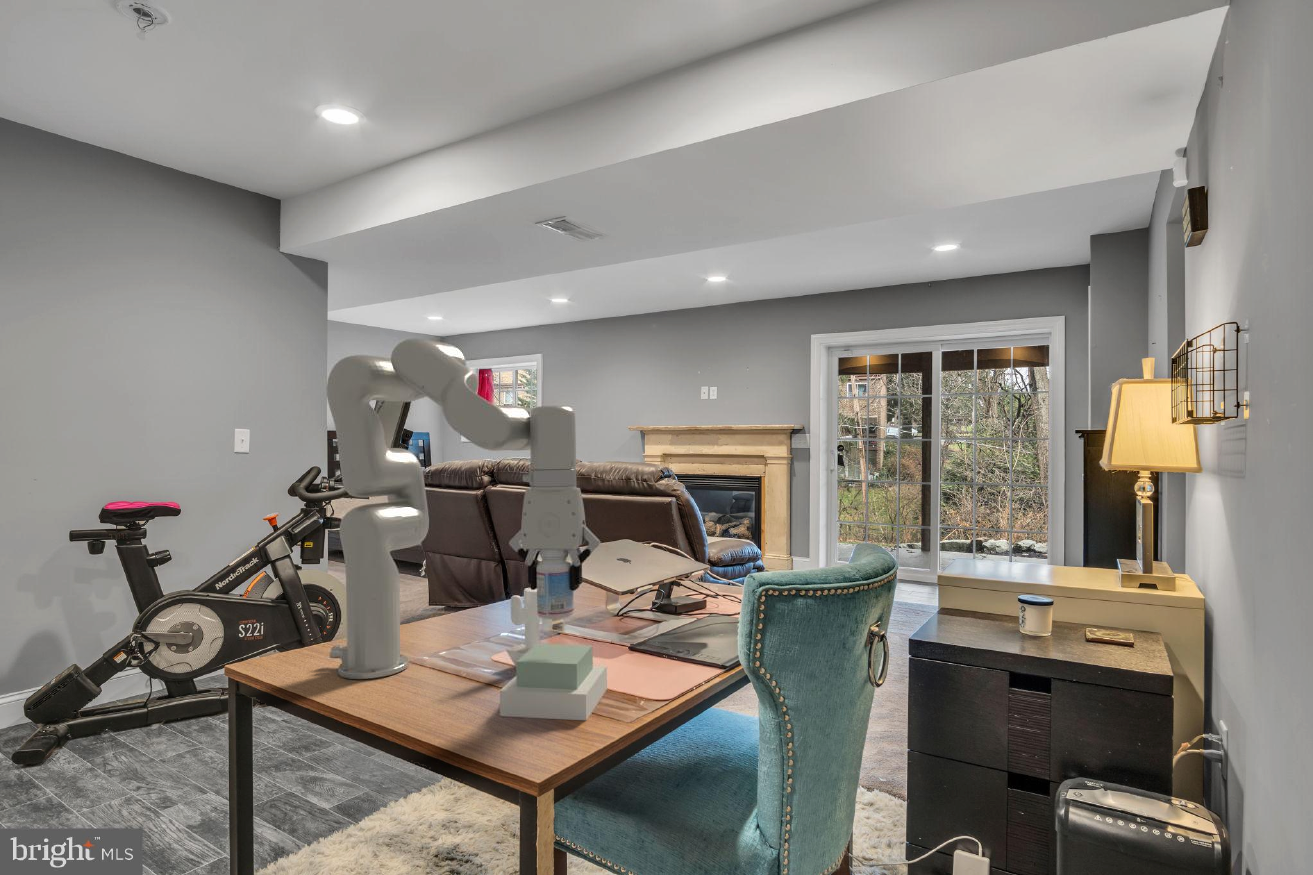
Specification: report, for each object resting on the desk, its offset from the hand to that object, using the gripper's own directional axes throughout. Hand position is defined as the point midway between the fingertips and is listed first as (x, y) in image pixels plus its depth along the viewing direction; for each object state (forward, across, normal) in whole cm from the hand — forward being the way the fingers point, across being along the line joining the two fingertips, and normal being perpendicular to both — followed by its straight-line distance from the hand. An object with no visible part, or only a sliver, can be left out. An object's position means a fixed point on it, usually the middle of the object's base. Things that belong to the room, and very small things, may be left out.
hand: (555, 587), depth 116 cm
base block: (+19, 0, 0) cm, 19 cm away
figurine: (+19, -10, +17) cm, 27 cm away
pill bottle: (+5, 0, 0) cm, 5 cm away
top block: (+15, 0, 0) cm, 15 cm away
